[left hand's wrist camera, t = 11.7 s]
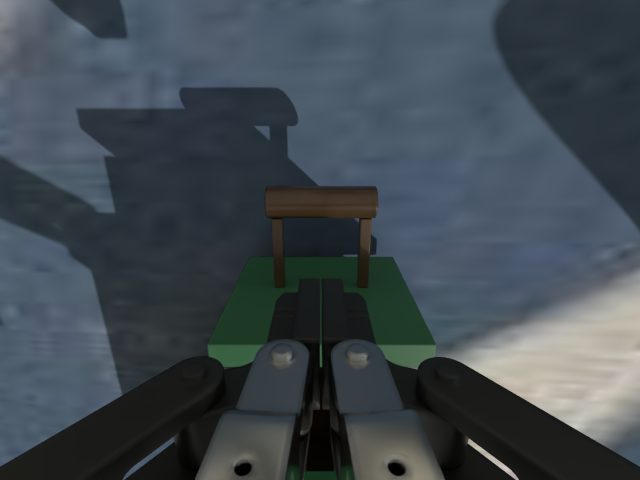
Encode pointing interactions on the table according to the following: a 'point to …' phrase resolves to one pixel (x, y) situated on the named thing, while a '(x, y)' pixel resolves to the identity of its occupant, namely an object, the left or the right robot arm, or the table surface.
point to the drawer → (357, 274)
